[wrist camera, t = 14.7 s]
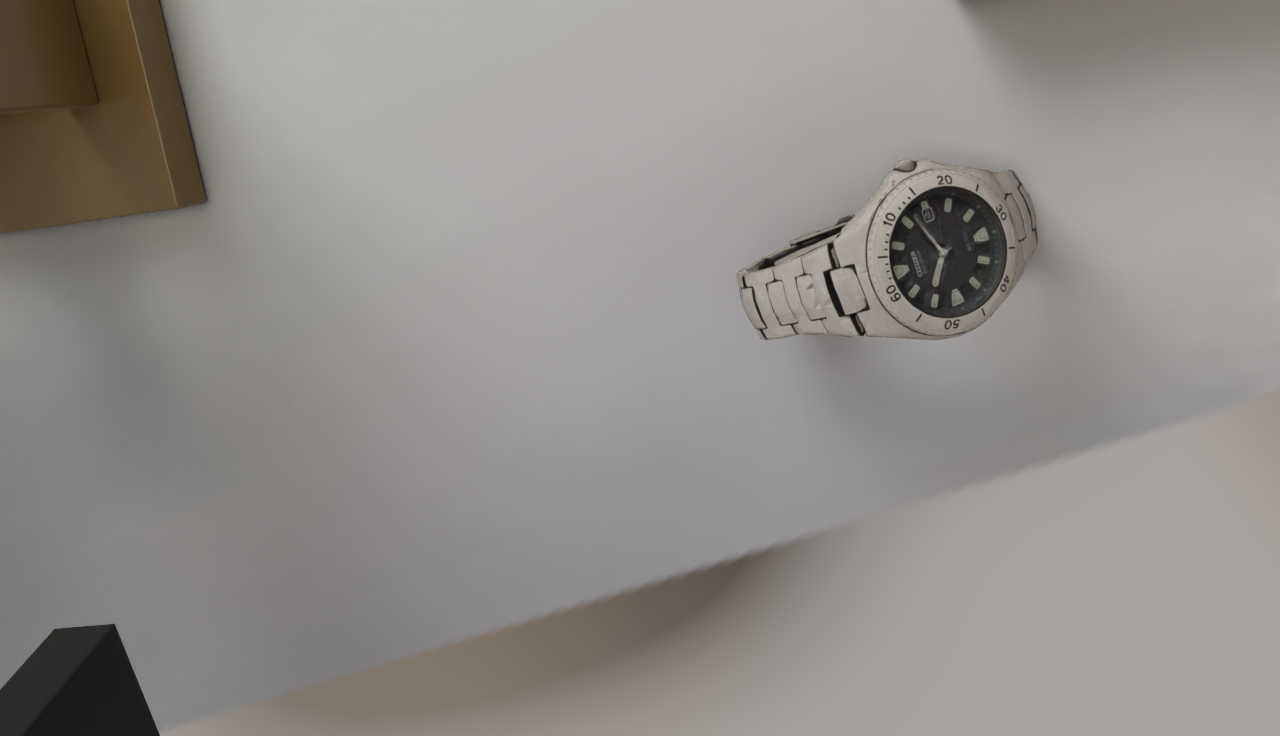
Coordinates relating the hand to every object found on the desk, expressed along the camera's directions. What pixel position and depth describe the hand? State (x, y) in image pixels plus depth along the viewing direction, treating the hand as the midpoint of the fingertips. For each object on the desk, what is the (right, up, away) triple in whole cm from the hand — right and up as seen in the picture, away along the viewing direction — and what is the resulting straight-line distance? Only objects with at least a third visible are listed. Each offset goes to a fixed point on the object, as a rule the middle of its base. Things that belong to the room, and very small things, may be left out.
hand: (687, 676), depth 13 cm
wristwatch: (+5, +6, +13) cm, 15 cm away
